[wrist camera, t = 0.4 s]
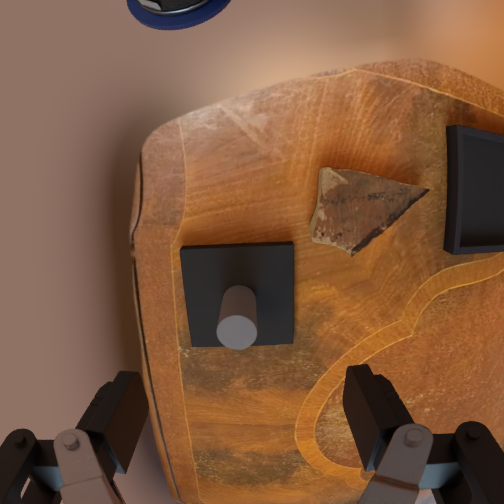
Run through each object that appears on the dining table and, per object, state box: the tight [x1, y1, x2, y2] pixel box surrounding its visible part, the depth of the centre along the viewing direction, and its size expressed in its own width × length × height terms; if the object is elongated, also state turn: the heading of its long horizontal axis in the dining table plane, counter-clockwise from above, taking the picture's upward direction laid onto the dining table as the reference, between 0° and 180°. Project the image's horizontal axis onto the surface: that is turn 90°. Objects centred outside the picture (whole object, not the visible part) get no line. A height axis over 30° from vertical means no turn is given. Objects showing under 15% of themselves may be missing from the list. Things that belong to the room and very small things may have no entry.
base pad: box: [443, 125, 504, 255], centre depth 26 cm, size 13×13×2 cm
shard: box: [310, 167, 429, 257], centre depth 27 cm, size 11×8×2 cm
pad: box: [180, 241, 294, 350], centre depth 26 cm, size 10×10×7 cm
